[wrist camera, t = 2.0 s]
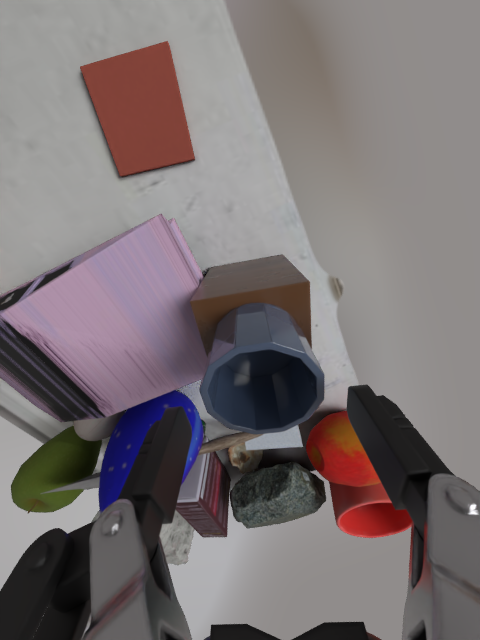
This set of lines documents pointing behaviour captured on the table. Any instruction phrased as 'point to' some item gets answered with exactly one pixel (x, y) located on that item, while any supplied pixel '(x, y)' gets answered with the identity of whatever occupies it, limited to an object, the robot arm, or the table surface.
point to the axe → (206, 447)
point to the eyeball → (97, 427)
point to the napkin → (140, 109)
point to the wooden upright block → (251, 293)
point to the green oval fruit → (54, 472)
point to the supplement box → (206, 496)
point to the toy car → (106, 326)
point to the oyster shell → (244, 457)
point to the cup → (261, 371)
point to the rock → (276, 495)
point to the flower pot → (367, 511)
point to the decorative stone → (176, 540)
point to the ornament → (132, 436)
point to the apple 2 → (340, 452)
